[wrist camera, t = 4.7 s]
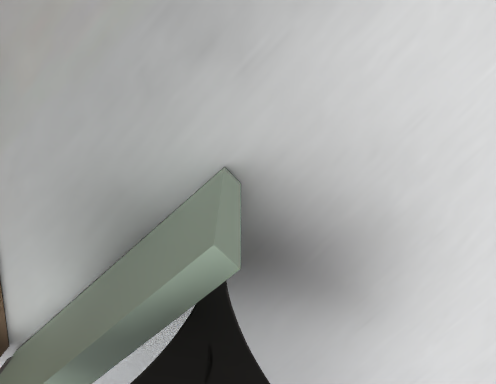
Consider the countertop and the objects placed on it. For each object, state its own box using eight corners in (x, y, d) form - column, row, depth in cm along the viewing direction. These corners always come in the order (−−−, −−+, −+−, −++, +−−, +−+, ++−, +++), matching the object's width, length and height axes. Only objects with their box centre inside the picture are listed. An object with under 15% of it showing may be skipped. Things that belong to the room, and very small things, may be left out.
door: (27, 368, 18) (-67, 508, 13) (7, 356, 18) (-98, 494, 12) (242, 185, 14) (243, 271, 9) (222, 165, 14) (211, 242, 8)
